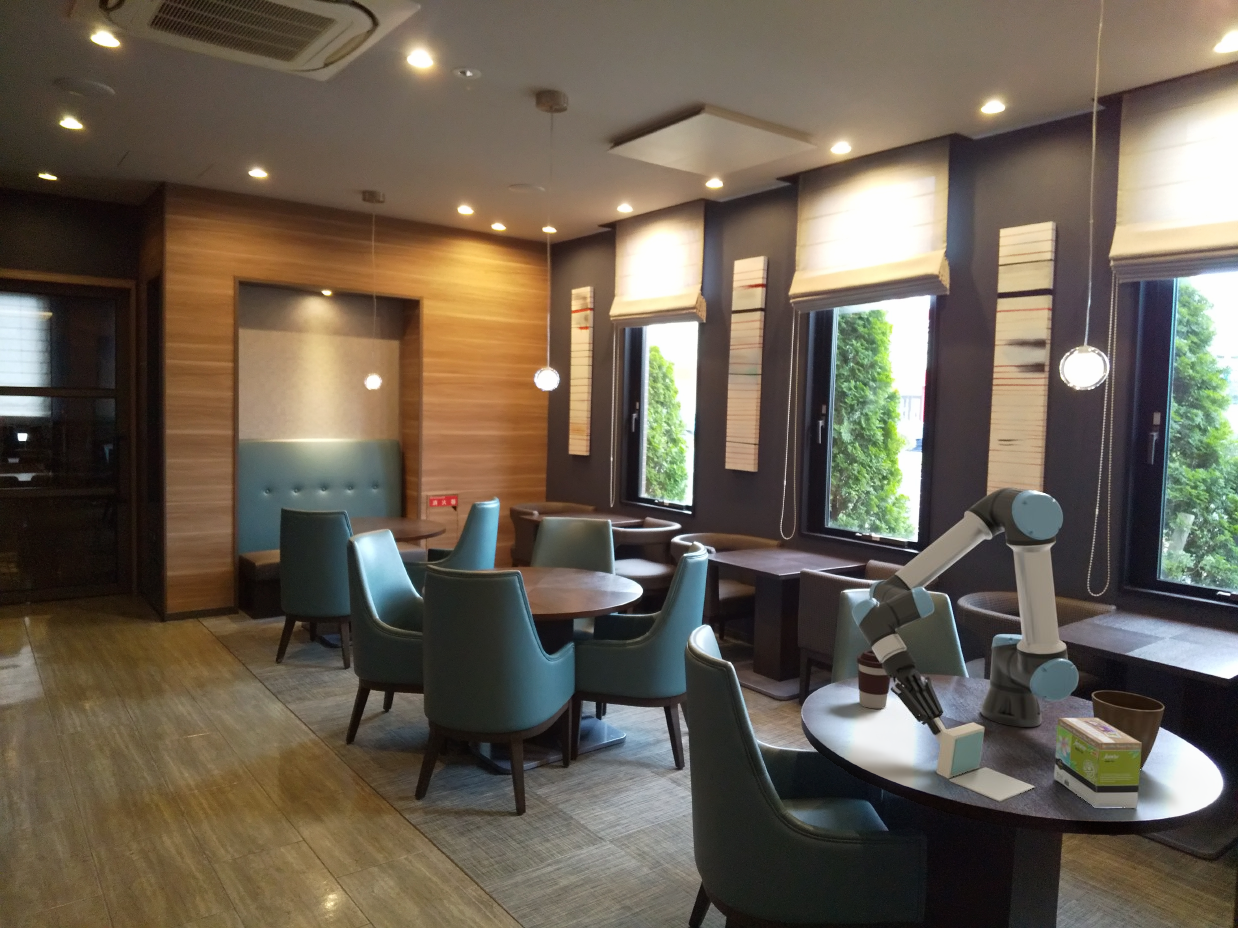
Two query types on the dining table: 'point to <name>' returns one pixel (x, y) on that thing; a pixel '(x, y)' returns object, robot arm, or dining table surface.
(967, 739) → the tile
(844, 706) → the dining table surface
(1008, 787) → the mat
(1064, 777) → the tea box
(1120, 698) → the plant pot
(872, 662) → the coffee cup
